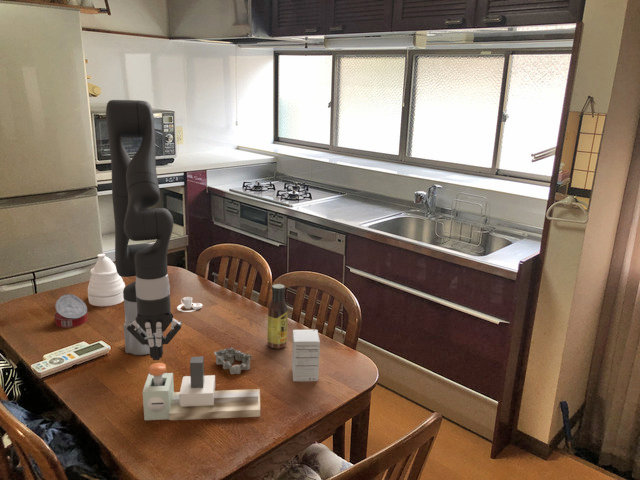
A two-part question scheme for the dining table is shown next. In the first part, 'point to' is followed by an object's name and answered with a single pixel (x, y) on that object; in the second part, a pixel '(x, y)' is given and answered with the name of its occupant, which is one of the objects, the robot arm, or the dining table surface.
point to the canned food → (70, 311)
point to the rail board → (220, 406)
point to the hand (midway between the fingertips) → (157, 358)
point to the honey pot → (105, 283)
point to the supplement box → (305, 355)
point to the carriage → (197, 385)
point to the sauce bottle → (277, 318)
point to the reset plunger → (157, 372)
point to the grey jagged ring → (229, 357)
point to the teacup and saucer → (189, 305)
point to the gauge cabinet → (158, 397)
